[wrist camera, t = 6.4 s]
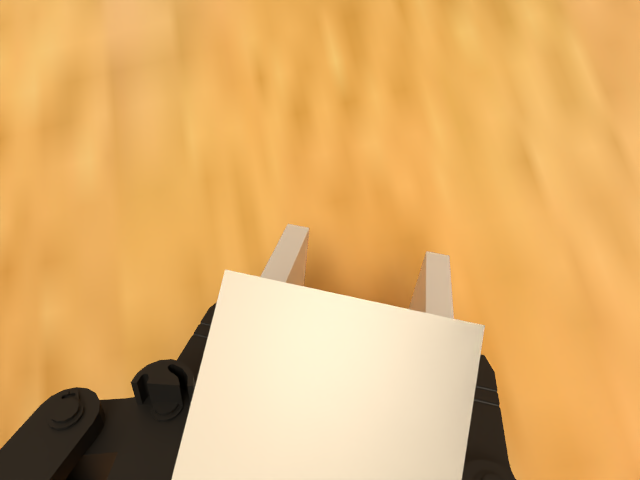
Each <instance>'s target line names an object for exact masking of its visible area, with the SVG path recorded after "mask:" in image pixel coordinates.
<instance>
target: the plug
mask: <svg viewBox="0 0 640 480" xmlns="http://www.w3.org/2000/svg"><path fill="white" fill-rule="evenodd" d="M484 328H485V326H484V325H480V324H475V323H471V322H466V321H461V320H457V319H452V318H447V317H443V316H438V315H433V314H429V313H424V312H420V311H415V310H410V309H406V308H401V307H396V306H392V305H387V304H382V303H378V302H373V301H369V300H364V299H359V298H355V297H350V296H345V295H341V294H336V293H332V292H327V291H322V290H318V289H313V288H308V287H304V286H299V285H294V284H290V283H285V282H281V281H276V280H271V279H267V278H262V277H257V276H253V275H248V274H243V273H239V272H234V271H230V270H225V272H224V276H223V280H222V284H221V288H220V292H219V296H218V300H217V304H216V308H215V312H214V315H213V319H212V323H211V327H210V331H209V335H208V339H207V343H206V347H205V351H204V354H203V358H202V362H201V366H200V370H199V374H198V378H197V382H196V386H195V390H194V394H193V397H192V401H191V405H190V409H189V413H188V417H187V421H186V425H185V429H184V433H183V436H182V440H181V444H180V448H179V452H178V456H177V460H176V464H175V468H174V472H173V475H172V479H171V480H462V474H463V468H464V461H465V454H466V448H467V441H468V434H469V428H470V421H471V414H472V408H473V401H474V394H475V388H476V381H477V374H478V368H479V361H480V354H481V348H482V341H483V334H484Z"/></svg>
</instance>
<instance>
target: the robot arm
mask: <svg viewBox="0 0 640 480" xmlns="http://www.w3.org/2000/svg"><path fill="white" fill-rule="evenodd" d="M308 237H309V228H307V227H302V226H296V225H291V224H288V225H287V227H286V229H285V231H284V233H283V234H282V236H281V238H280V240H279V242H278V244H277V246H276V248H275V250H274V252H273V254H272V256H271V257H270V259H269V261H268V263H267V265H266V267H265V269H264V271H263V273H262V275H261V277H262V278H267V279H271V280H276V281H281V282H285V283H290V284H294V285H299V286H304V280H305V269H306V258H307V248H308ZM216 304H217V303H216ZM216 304H214V305H213V306H212V307H210V308H209V309H208V311H207V313H206V314H205V316H204V317H203V319H202V321H201V324H200V325H199V326H198V327H197V329H196V330H195V332H194V335H193V336H192V337H191V338H190V340H189V342H188V343H187V345H186V346H185V348H184V350H183V351H182V353H181V354H180V356H179V358H178V359H177V361H176V360H172V359H169V360H159V361H157V362H154V363H151V364H149V365H147V366H146V367H144V368H143V369H142V370H140V371H139V372H138V373H137V374H136V376H135V377H134V379H133V380H132V382H131V384H132V388H133V391H134V395H135V397H133V398H126V399H110V400H99V399H98V397H97V395H96V393H94V392H93V391H91V390H89V389H87V388H77V387H76V388H71V389H67V390H63V391H61V392H59V393H57V394H55V395H53V396H51V397H50V398H49V399H47V400H46V401H45V402H44V403H43V404H42V405H40V407H39V408H38V409H37V410H36V411H35V412H34V413H33V414H32V415H31V416H30V418H29V419H28V420H27V421H26V422H25V423H24V424H23V425H22V426H21V427H20V428H19V430H18V431H17V432H16V433H15V434H14V435H13V436H12V437H11V438H10V439H9V441H8V442H7V443H6V444H5V445H4V446H3V447H2V448H1V449H0V480H171V479H172V475H173V472H174V468H175V464H176V460H177V456H178V452H179V448H180V444H181V440H182V436H183V433H184V429H185V425H186V421H187V417H188V413H189V409H190V405H191V401H192V397H193V394H194V390H195V386H196V382H197V378H198V374H199V370H200V366H201V362H202V358H203V354H204V351H205V347H206V343H207V339H208V335H209V331H210V327H211V323H212V319H213V315H214V312H215V308H216ZM409 309H410V310H415V311H420V312H424V313H429V314H433V315H438V316H443V317H447V318H452V319H454V315H453V301H452V287H451V273H450V259H449V256H448V255H443V254H438V253H433V252H428V251H426V254H425V257H424V260H423V264H422V267H421V270H420V273H419V277H418V280H417V283H416V287H415V290H414V293H413V297H412V300H411V303H410V306H409ZM462 480H516V479H515V477H514V475H513V473H512V471H511V468H510V465H509V461H508V454H507V448H506V442H505V436H504V429H503V423H502V417H501V410H500V408H499V398H498V393H497V385H496V379H495V373H494V371H493V369H492V367H491V366H490V364H489V362H488V361H487V359H486V357H485V356H484V355H480V361H479V368H478V374H477V381H476V388H475V394H474V401H473V408H472V414H471V421H470V428H469V434H468V441H467V448H466V454H465V461H464V468H463V474H462Z"/></svg>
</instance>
